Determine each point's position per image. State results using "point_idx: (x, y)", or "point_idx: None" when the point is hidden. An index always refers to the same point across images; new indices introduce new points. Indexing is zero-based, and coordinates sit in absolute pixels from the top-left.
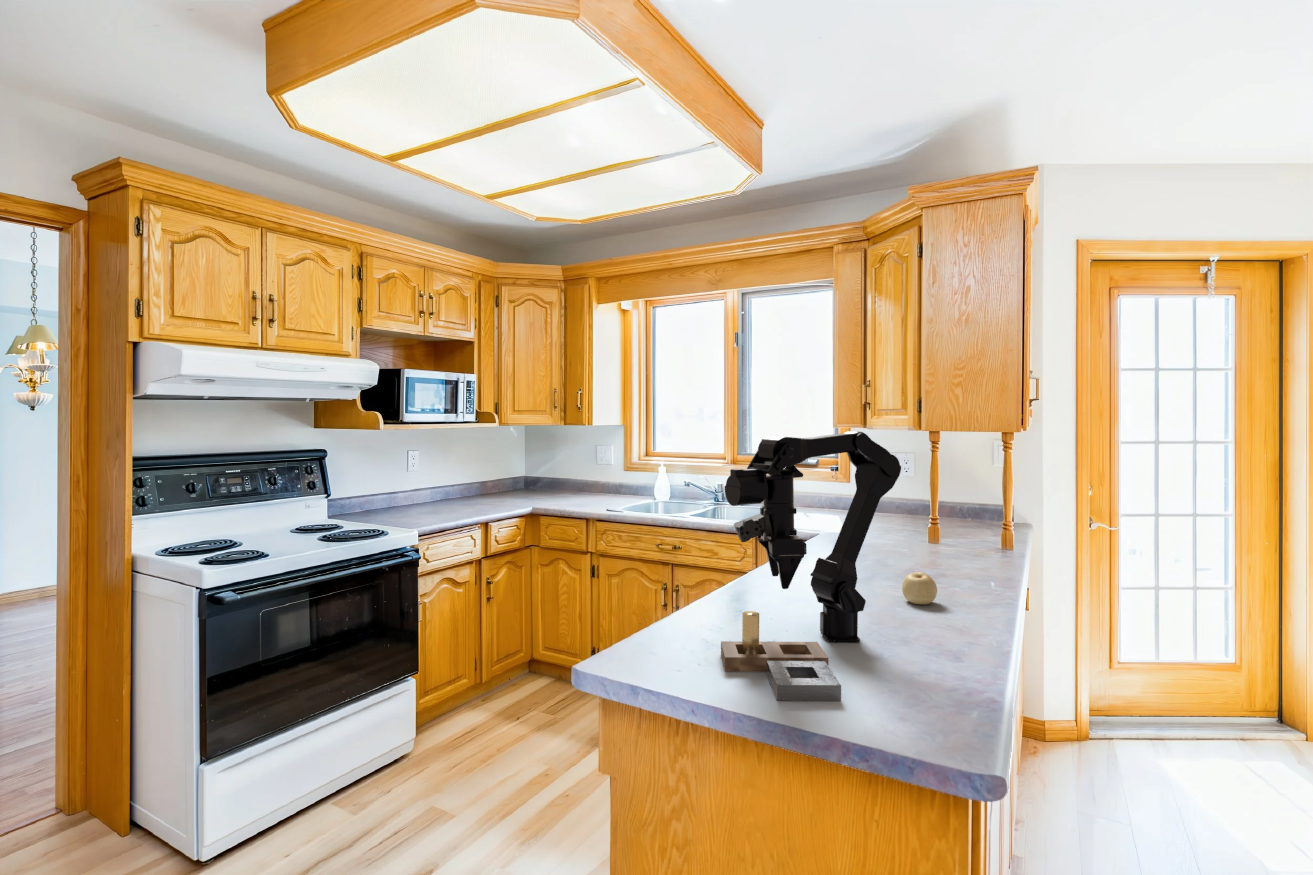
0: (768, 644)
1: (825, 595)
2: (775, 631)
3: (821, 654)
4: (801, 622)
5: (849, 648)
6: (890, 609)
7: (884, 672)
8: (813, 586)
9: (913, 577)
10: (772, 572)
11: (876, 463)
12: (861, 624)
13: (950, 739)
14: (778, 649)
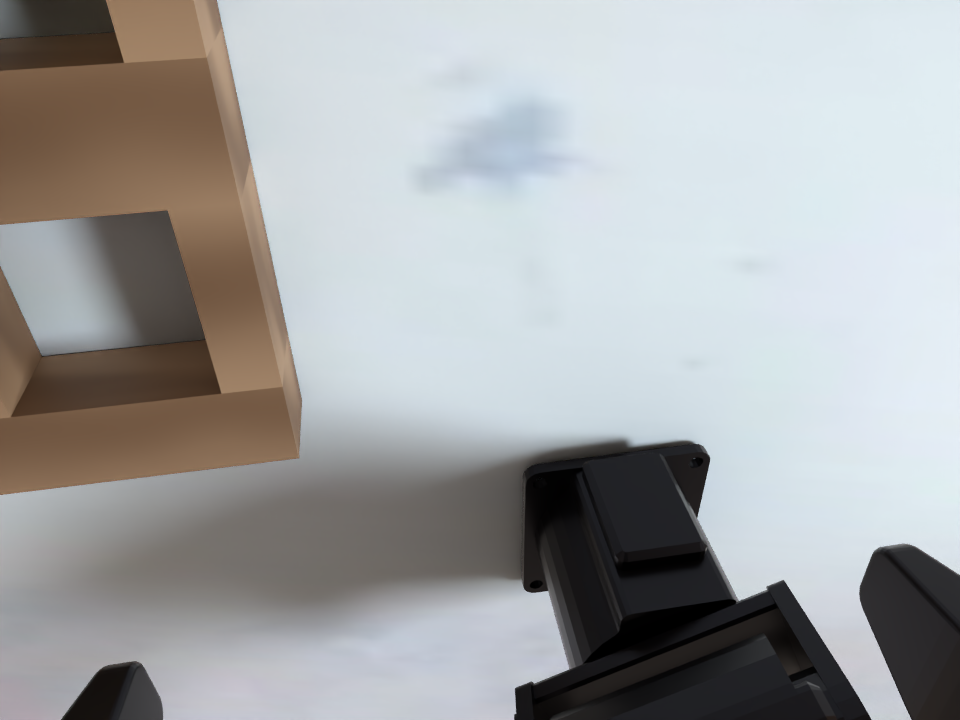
0: (140, 122)
1: (617, 716)
2: (759, 191)
3: (38, 466)
4: (887, 361)
5: (436, 538)
6: None
7: (124, 629)
8: (770, 698)
9: None
10: (917, 590)
11: None
12: None
13: None
14: (28, 199)
